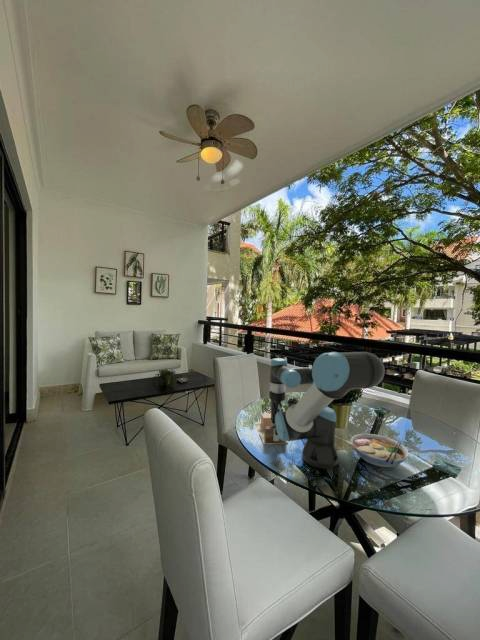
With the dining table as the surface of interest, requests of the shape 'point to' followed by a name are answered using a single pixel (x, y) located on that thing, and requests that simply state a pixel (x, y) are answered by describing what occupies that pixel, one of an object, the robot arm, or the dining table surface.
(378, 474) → the dining table surface
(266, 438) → the wooden brown box
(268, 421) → the block
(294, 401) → the fruit
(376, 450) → the ramen bowl
